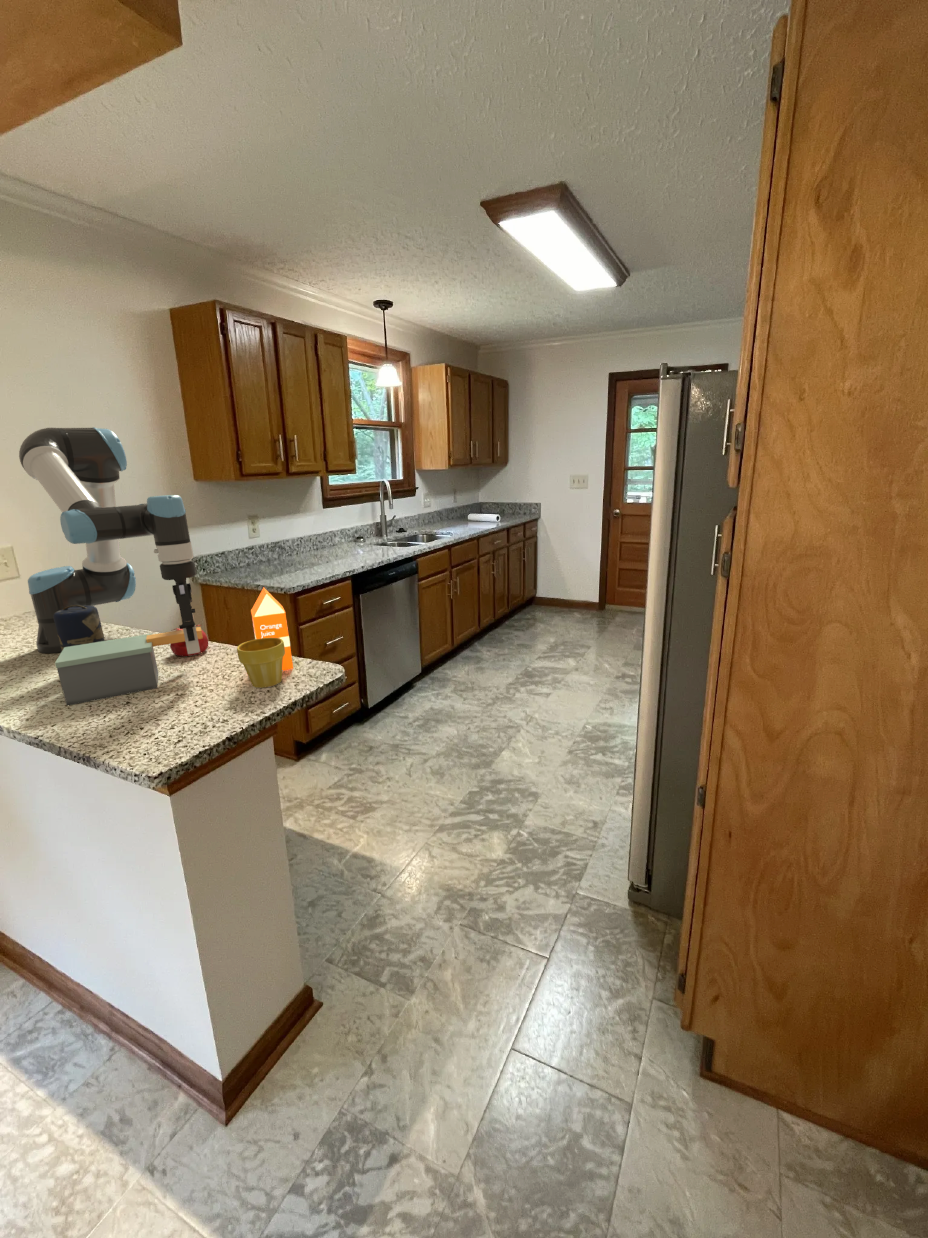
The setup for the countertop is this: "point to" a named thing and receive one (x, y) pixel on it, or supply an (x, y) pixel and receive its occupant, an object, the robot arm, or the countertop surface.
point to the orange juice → (271, 623)
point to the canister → (78, 625)
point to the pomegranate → (181, 647)
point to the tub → (108, 678)
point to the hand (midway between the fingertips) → (193, 645)
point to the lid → (118, 647)
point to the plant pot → (263, 660)
